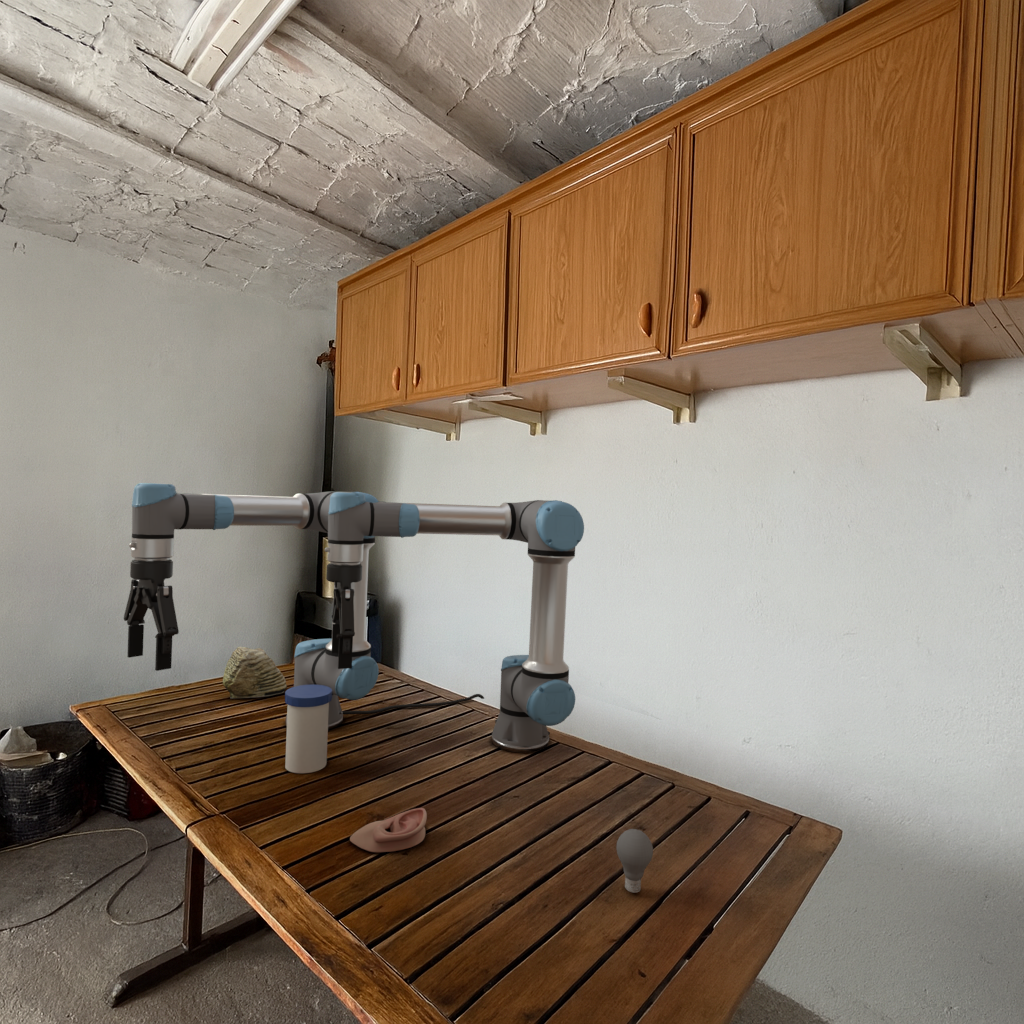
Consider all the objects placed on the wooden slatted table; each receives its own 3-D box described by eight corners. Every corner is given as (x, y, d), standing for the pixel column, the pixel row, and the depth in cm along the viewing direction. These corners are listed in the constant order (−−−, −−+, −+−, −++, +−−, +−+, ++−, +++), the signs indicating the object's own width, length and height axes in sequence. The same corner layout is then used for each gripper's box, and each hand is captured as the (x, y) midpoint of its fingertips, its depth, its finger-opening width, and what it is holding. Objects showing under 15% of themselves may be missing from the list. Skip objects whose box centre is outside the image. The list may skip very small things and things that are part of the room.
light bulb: (610, 879, 108) (613, 822, 108) (644, 879, 109) (647, 822, 109) (619, 902, 102) (622, 840, 102) (655, 901, 103) (658, 840, 103)
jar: (283, 759, 151) (286, 688, 151) (323, 754, 155) (326, 685, 155) (286, 775, 143) (289, 700, 143) (329, 770, 147) (331, 697, 146)
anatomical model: (342, 825, 115) (369, 797, 126) (341, 847, 115) (368, 817, 126) (412, 836, 112) (433, 806, 123) (411, 859, 112) (432, 826, 123)
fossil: (218, 695, 195) (220, 647, 195) (278, 685, 208) (279, 640, 207) (228, 703, 189) (230, 653, 188) (289, 692, 201) (290, 645, 201)
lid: (283, 695, 152) (283, 686, 152) (328, 691, 156) (329, 683, 156) (286, 709, 142) (286, 699, 142) (334, 705, 146) (335, 695, 146)
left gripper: (108, 554, 134) (104, 654, 134) (159, 565, 118) (155, 678, 119) (146, 552, 140) (143, 648, 140) (199, 563, 124) (195, 671, 124)
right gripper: (322, 557, 148) (318, 647, 148) (332, 569, 125) (328, 676, 125) (354, 557, 151) (351, 646, 151) (371, 569, 128) (367, 674, 128)
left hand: (148, 662), depth 129 cm, fingers open, 13 cm apart
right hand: (341, 660), depth 138 cm, fingers open, 13 cm apart
